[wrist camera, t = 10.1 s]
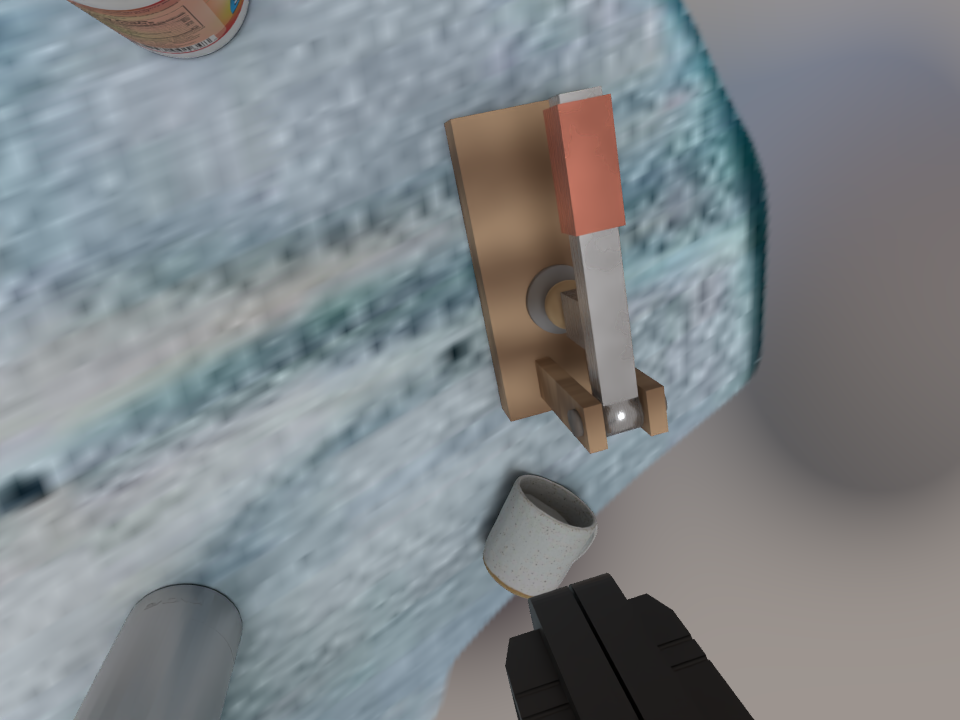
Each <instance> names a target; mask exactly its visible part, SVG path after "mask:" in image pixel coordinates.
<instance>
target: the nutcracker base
mask: <svg viewBox="0 0 960 720" xmlns="http://www.w3.org/2000/svg"><path fill="white" fill-rule="evenodd" d="M547 108H550V105H549V100H545V101H540V102H535V103H530V104H525V105H520V106H515V107H510V108H505V109H500V110H495V111H490V112H485V113H480V114H475V115H470V116H465V117H460V118H455V119H450V120H449V121H447V122H446V123H445V124H444V125H445V130H446V135H447V140H448V145H449V150H450V154H451V159H452V164H453V169H454V174H455V179H456V184H457V189H458V194H459V199H460V203H461V208H462V213H463V218H464V223H465V228H466V233H467V238H468V243H469V248H470V253H471V257H472V262H473V267H474V272H475V277H476V282H477V287H478V292H479V297H480V302H481V307H482V311H483V316H484V321H485V326H486V331H487V336H488V341H489V346H490V351H491V356H492V360H493V365H494V370H495V375H496V380H497V385H498V390H499V395H500V400H501V405H502V409H503V410H504V412H505V413H506V415H507V416H508V418H509V419H510V421H515V420H519V419H522V418H526V417H530V416H533V415H537V414H540V413H544V412H548V411H551V410H553V411H554V412H555V414H556V415H557V416H558V417H559V418H560V419H561V421H562V422H563V423H564V424H565V425H566V426H567V427H568V429H569V430H570V431H571V432H572V433H573V435H574V436H575V437H576V438H577V439H578V440H579V441H580V442H581V444H582V445H583V446H584V447H585V448H586V449H587V450H588V452H589V453H590V454H591V453H595V452H598V451H602V450H605V449H608V446H607V439H606V432H605V425H604V418H603V410H602V403H600V402H599V401H598V400H597V399H596V398H595V397H594V396H593V395H592V390H591V384H590V377H589V370H588V363H587V357H586V350H585V349H584V348H582V347H581V346H579V345H578V344H577V343H575V342H574V341H573V340H571V339H570V338H568V337H567V333H566V327H565V320H564V314H563V308H562V301H561V295H560V292H564V291H568V290H572V289H576V282H575V275H574V268H573V262H572V255H571V248H570V241H569V235H568V234H564V233H561V228H560V221H559V214H558V208H557V201H556V194H555V188H554V181H553V175H552V168H551V161H550V155H549V148H548V142H547V135H546V128H545V122H544V115H543V110H545V109H547ZM618 231H619V230H618ZM619 240H620V239H619ZM620 248H621V247H620ZM621 256H622V255H621ZM622 265H623V264H622ZM623 273H624V272H623ZM625 290H626V289H625ZM626 298H627V297H626ZM627 307H628V306H627ZM628 315H629V314H628ZM630 332H631V331H630ZM631 340H632V339H631ZM633 357H634V356H633ZM635 374H636V382H637V390H638V397H639V399H640V402H641V405H642V408H643V414H644V423H643V426H642V427H641V428H642V429H643V430H645V431H646V432H647V433H648V434H649V435H650V436H654V435H657V434H661V433H664V432H668V423H667V413H666V411H667V401H666V397H665V394H664V386H663V385H661V384H659V383H658V382H656V381H655V380H653V379H652V378H650V377H649V376H647V375H646V374H644V373H643V372H641V371H640V370H638V369H637V368H635Z"/></svg>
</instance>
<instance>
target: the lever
mask: <svg viewBox="0 0 960 720" xmlns="http://www.w3.org/2000/svg"><path fill="white" fill-rule="evenodd" d="M549 105H550V108H547V109H545V110H543V115H544V122H545V128H546V135H547V142H548V148H549V155H550V161H551V168H552V175H553V181H554V188H555V194H556V201H557V208H558V214H559V221H560V228H561V233H564V234H568V235H569V241H570V248H571V255H572V262H573V268H574V275H575V282H576V289H572V290H568V291H564V292H560V295H561V301H562V308H563V314H564V320H565V327H566V333H567V337H568V338H570V339H571V340H573V341H574V342H575V343H577V344H578V345H579V346H581V347H582V348H584V349H585V350H586V357H587V363H588V370H589V377H590V384H591V390H592V395H593V396H594V397H595V398H596V399H597V400H598V401H599V402H600V403H602V410H603V418H604V425H605V432H606V437H608V436H612V435H615V434H619V433H622V432H626V431H629V430H633V429H636V428H640V427H642V426H643V423H644V414H643V408H642V405H641V402H640V399H639V397H638V390H637V382H636V374H635V365H634V357H633V348H632V340H631V332H630V323H629V315H628V307H627V298H626V290H625V281H624V273H623V265H622V256H621V248H620V240H619V231H618V227H619V226H623V225H626V224H625V215H624V206H623V198H622V189H621V180H620V171H619V163H618V154H617V145H616V137H615V128H614V119H613V111H612V102H611V94H607V95H602V89H601V86H598V87H593V88H588V89H583V90H578V91H573V92H568V93H563V94H559V95H556V96H554V97H552V98H550V99H549Z"/></svg>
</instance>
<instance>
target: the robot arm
mask: <svg viewBox="0 0 960 720" xmlns="http://www.w3.org/2000/svg"><path fill="white" fill-rule="evenodd" d="M528 603H529V609H530V614H531V618H532V623H533V627H534V631H530V632H527V633H524V634H521V635H518V636H515V637H512V638H510V639H509V645H508V652H507V658H506V665H505V667H506V671H507V675H508V679H509V684H510V688H511V692H512V696H513V700H514V704H515V709H516V712H517V717H518V720H754V719H753V718H752V716H751V715H750V714H749V712H748V711H747V710H746V708H745V707H744V705H743V704H742V703H741V702H740V700H739V699H738V698H737V696H736V695H735V693H734V692H733V691H732V689H731V688H730V687H729V685H728V684H727V683H726V681H725V680H724V679H723V677H722V676H721V675H720V673H719V672H718V671H717V669H716V668H715V667H714V665H713V664H712V662H711V661H710V660H708V659H707V657H706V655H705V653H704V652H703V650H702V649H701V648H700V646H699V645H698V644H697V642H696V641H695V640H694V639H692V637H691V634H690V633H689V632H688V630H687V629H686V628H685V626H684V625H683V623H682V622H681V621H680V619H679V618H678V617H677V615H676V614H675V613H674V611H673V610H672V609H670V608H668V607H667V606H665V605H664V604H662V603H660V602H659V601H658V600H656V599H654V598H653V597H651V596H650V595H648V594H644V595H640V596H637V597H635V598H631V599H628V600H627V599H626V597H625V596H624V594H623V593H622V591H621V590H620V588H619V587H618V585H617V584H616V582H615V581H614V579H613V578H612V576H611V575H610V574H608V573H606V574H602V575H599V576H596V577H593V578H589V579H586V580H583V581H580V582H577V583H574V584H570V585H569V588H568V587H567V586H565V587H562V588H559V589H555V590H552V591H549V592H546V593H543V594H540V595H536V596H533V597H530V598H528ZM241 634H242V621H241V618H240V615H239V612H238V611H237V609H236V608H235V606H234V604H233V603H232V602H230V601H229V600H228V599H227V598H226V597H225V596H223V595H222V594H220V593H218V592H217V591H214V590H212V589H209V588H206V587H202V586H196V585H176V586H169V587H166V588H163V589H160V590H157V591H155V592H153V593H151V594H149V595H147V596H146V597H144V598H143V599H142V600H141V601H140V602H138V603H137V604H136V605H135V607H134V608H133V609H132V611H131V612H130V614H129V615H128V617H127V619H126V621H125V623H124V625H123V627H122V629H121V631H120V633H119V634H118V636H117V638H116V640H115V642H114V644H113V646H112V647H111V649H110V651H109V653H108V655H107V657H106V659H105V661H104V663H103V664H102V666H101V668H100V670H99V672H98V674H97V676H96V678H95V680H94V682H93V683H92V685H91V687H90V689H89V691H88V693H87V695H86V697H85V699H84V700H83V702H82V704H81V706H80V708H79V710H78V712H77V714H76V716H75V718H74V719H73V720H220V717H221V713H222V709H223V706H224V702H225V698H226V694H227V690H228V686H229V682H230V678H231V674H232V671H233V667H234V663H235V659H236V655H237V651H238V647H239V643H240V639H241Z"/></svg>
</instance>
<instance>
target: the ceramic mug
mask: <svg viewBox="0 0 960 720" xmlns="http://www.w3.org/2000/svg"><path fill="white" fill-rule="evenodd" d="M596 522H597V521H596V517H595V516H594V513H593V512H592V511H591V510H590V508H589V507H588V506H587V505H586V504H585V503H584V502H583V501H582V500H581V499H580V498H578V497H577V496H576V495H575V494H573V493H572V492H570V491H569V490H567V489H566V488H564V487H563V486H561V485H559V484H557V483H554V482H552V481H550V480H548V479H545V478H542V477H539V476H534V475H522V476H520V477H519V478H517V480H516V481H515V483H514V485H513V487H512V489H511V491H510V493H509V495H508V497H507V499H506V501H505V503H504V505H503V507H502V509H501V512H500V514H499V516H498V518H497V520H496V522H495V524H494V526H493V528H492V529H491V531H490V533H489V536H488V538H487V540H486V544H485V547H484V551H483V560H484V564H485V566H486V569H487V570H488V572H489V573H490V575H491V576H492V577H493V578H494V579H495V581H496V582H497V583H499V584H500V585H501V586H502V587H504V588H505V589H506V590H508V591H510V592H511V593H513V594H515V595H518V596H520V597H523V598H530V597H533V596H536V595H540V594H543V593H546V592H549V591H552V590H555V589H556V588H557V587H558V586H559V585H560V583H561V582H562V580H563V578H564V577H565V576H566V574H567V572H568V570H569V569H570V567H571V565H572V564H573V563H574V562H575V561H576V560H577V559H579V558H580V557H581V556H582V555H583V554H584V553H585V552H586V551H587V549H588V548H589V547H590V545H591V544H592V542H593V541H594V539H595V536H596V534H597V530H598V527H597V523H596Z"/></svg>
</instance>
